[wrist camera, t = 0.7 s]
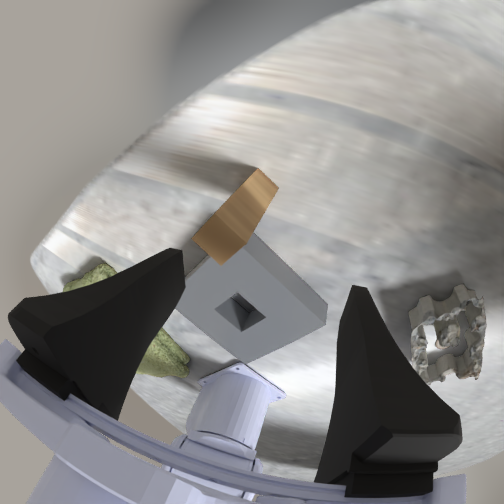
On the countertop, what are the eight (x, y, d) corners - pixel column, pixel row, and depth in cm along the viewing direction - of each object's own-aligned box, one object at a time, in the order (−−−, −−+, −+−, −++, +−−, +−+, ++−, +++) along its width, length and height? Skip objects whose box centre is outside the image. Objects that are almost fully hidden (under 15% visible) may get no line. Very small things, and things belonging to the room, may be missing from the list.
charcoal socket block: (251, 346, 29) (245, 364, 27) (177, 284, 27) (165, 300, 25) (327, 304, 24) (325, 324, 22) (242, 222, 22) (231, 237, 20)
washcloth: (141, 367, 41) (131, 382, 38) (68, 280, 35) (54, 293, 32) (201, 364, 35) (191, 383, 32) (113, 252, 29) (95, 269, 26)
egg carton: (471, 352, 23) (479, 381, 19) (410, 367, 26) (412, 399, 22) (480, 275, 18) (496, 306, 15) (403, 296, 22) (410, 331, 18)
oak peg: (259, 205, 21) (220, 265, 14) (240, 186, 21) (191, 238, 14) (278, 188, 20) (246, 243, 13) (258, 168, 19) (214, 213, 13)
